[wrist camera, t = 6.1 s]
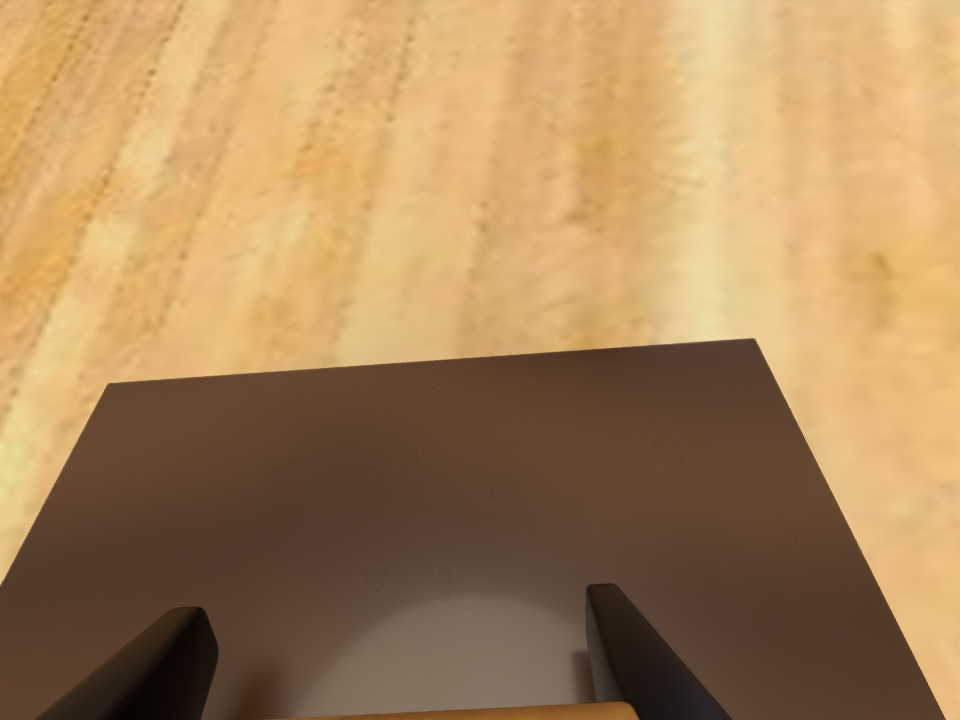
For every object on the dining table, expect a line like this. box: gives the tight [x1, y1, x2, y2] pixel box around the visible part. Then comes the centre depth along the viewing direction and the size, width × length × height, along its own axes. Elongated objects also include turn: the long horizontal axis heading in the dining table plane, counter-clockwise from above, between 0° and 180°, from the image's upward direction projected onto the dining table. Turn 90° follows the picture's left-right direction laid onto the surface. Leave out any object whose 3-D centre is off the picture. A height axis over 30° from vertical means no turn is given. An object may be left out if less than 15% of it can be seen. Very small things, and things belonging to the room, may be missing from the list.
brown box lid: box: [0, 338, 946, 720], centre depth 8 cm, size 10×16×5 cm
